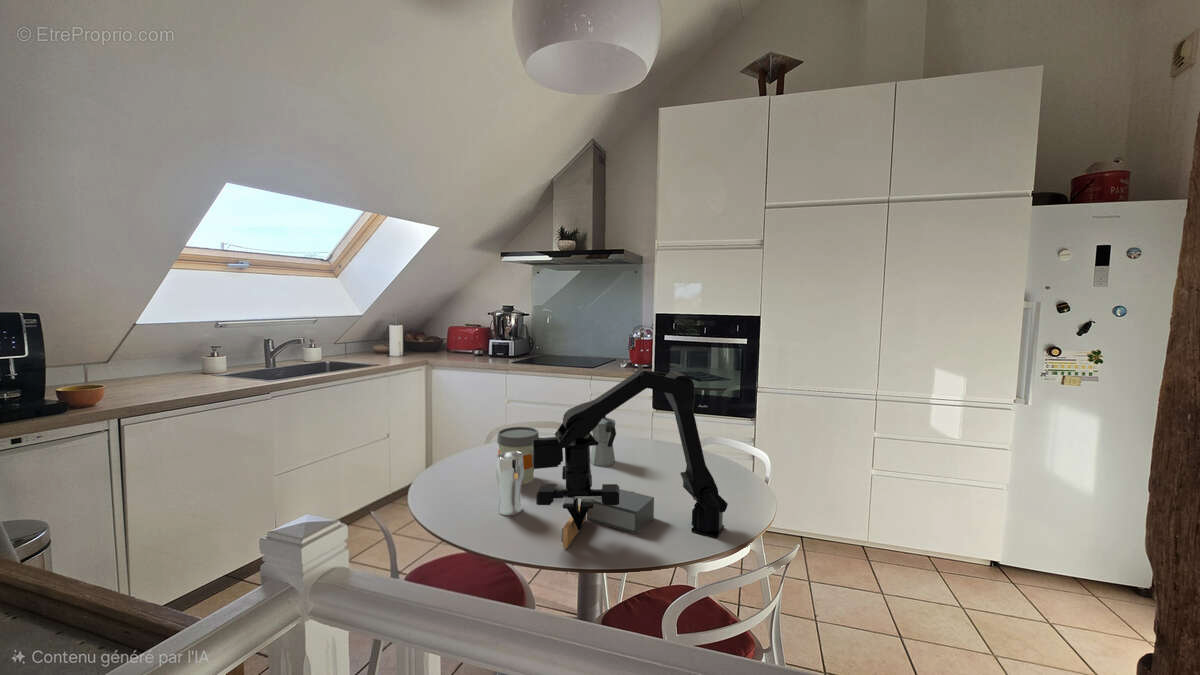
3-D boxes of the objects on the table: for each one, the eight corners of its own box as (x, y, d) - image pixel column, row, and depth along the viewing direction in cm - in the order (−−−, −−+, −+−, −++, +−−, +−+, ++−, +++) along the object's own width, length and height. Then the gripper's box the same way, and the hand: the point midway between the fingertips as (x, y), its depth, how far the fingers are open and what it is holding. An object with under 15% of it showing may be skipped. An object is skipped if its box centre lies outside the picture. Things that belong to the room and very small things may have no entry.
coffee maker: (583, 458, 171) (584, 407, 170) (606, 455, 175) (606, 405, 174) (601, 472, 158) (602, 417, 156) (625, 468, 162) (626, 415, 160)
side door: (567, 547, 110) (567, 528, 109) (560, 546, 110) (560, 527, 110) (586, 518, 124) (586, 501, 124) (580, 518, 125) (580, 500, 124)
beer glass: (511, 502, 134) (511, 449, 133) (528, 510, 130) (529, 454, 128) (491, 511, 129) (490, 455, 127) (508, 519, 124) (508, 461, 123)
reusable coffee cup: (517, 491, 142) (517, 440, 141) (488, 480, 149) (488, 432, 148) (547, 478, 152) (547, 431, 151) (519, 469, 159) (519, 424, 158)
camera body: (656, 514, 128) (657, 492, 127) (636, 534, 117) (636, 509, 117) (609, 502, 135) (609, 481, 134) (586, 520, 124) (586, 496, 124)
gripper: (619, 452, 120) (620, 514, 121) (543, 453, 120) (545, 514, 122) (618, 469, 108) (619, 536, 110) (534, 469, 109) (537, 536, 111)
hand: (579, 530), depth 113 cm, fingers closed
